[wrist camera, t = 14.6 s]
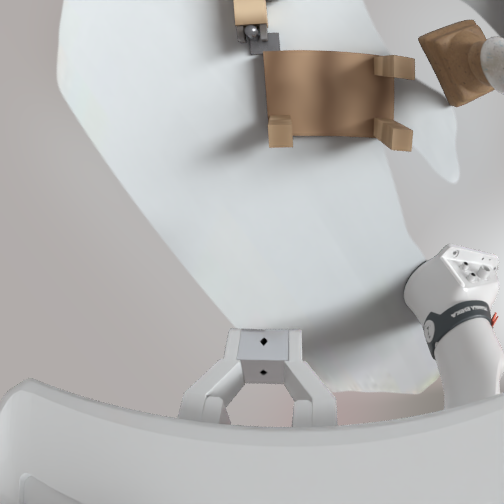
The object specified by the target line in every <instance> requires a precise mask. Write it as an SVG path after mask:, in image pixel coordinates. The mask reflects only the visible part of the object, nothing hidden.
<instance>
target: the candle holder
mask: <svg viewBox="0 0 504 504" xmlns="http://www.w3.org/2000/svg"><path fill="white" fill-rule="evenodd" d="M418 40H419V43H420V45H421V47H422V49H423V51H424V53H425V54H426V56H427V58H428V60H429V62H430V64H431V66H432V68H433V70H434V72H435V74H436V76H437V78H438V80H439V82H440V85H441V87H442V89H443V91H444V94H445V96H446V98H447V100H448V102H449V104H450V105H451V106H455V107H459V106H462V105H464V104H467V103H468V102H471V101H473V100H475V99H477V98H478V97H480V96H483V95H485V94H487V93H489V92H491V91H493V90H497V91H498V92H499V93H501V94H504V38H502V37H491V38H489V39H487V40H486V38H485V36H484V34H483V32H482V30H481V28H480V27H479V26H478V25H476V23H475V21H474V20H464V21H461V22H457V23H454V24H451V25H448V26H446V27H443V28H440V29H437V30H435V31H432V32H430V33H427V34H425V35H423V36H421V37H419V38H418Z"/></svg>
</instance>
